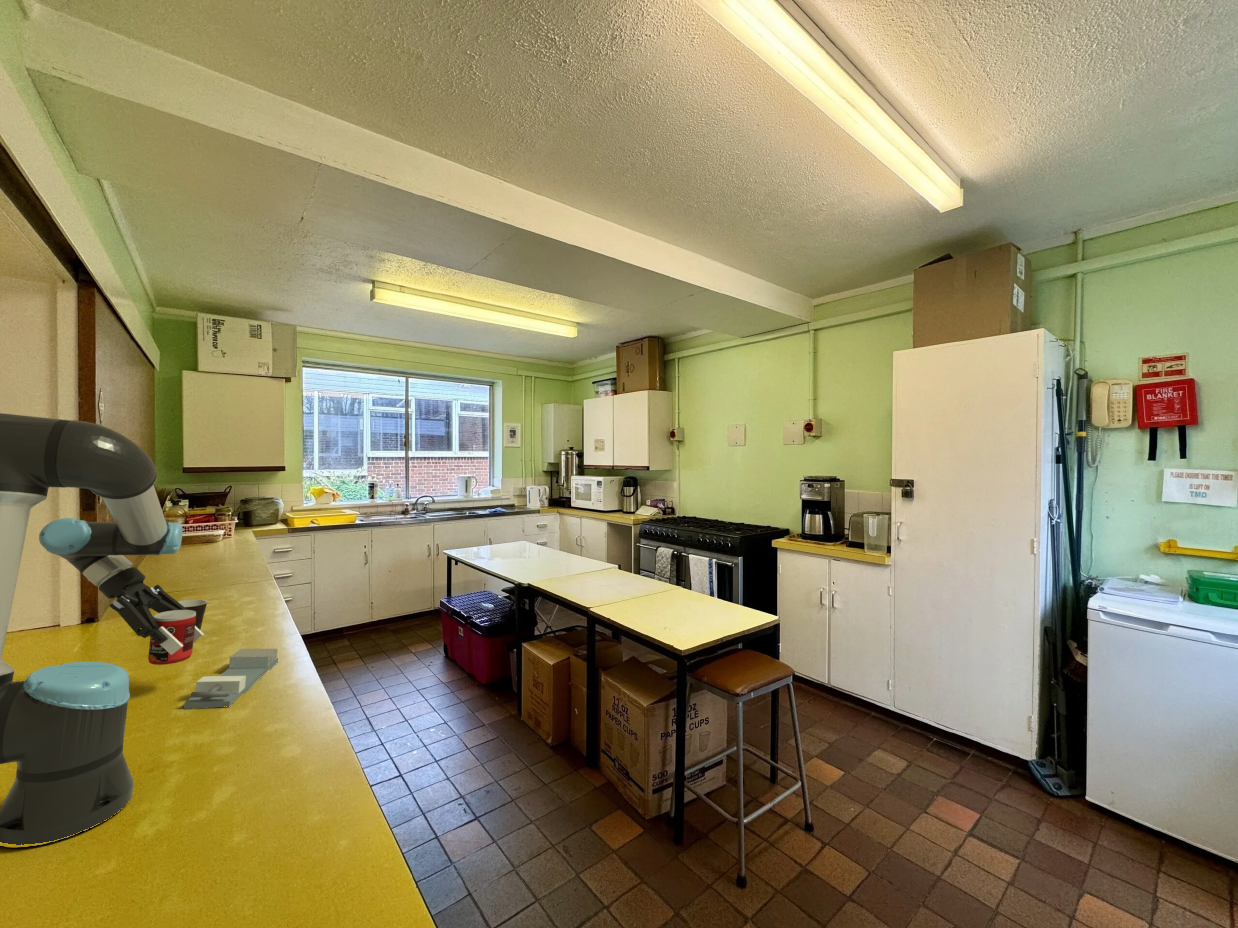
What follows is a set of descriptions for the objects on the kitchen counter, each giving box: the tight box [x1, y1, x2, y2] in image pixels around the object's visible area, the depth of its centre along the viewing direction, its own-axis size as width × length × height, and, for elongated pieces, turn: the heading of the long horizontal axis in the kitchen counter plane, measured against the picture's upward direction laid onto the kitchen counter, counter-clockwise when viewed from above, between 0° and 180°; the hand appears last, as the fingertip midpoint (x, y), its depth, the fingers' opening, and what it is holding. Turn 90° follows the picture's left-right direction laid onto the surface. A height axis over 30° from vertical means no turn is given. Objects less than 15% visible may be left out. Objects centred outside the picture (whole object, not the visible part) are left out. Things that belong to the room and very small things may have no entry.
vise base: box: [183, 657, 279, 710], centre depth 126 cm, size 26×9×4 cm, turn 14°
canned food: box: [147, 610, 196, 666], centre depth 119 cm, size 8×8×11 cm
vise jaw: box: [228, 648, 278, 669], centre depth 135 cm, size 6×9×3 cm, turn 104°
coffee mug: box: [177, 598, 208, 631], centre depth 153 cm, size 12×9×10 cm
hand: (188, 643), depth 120 cm, fingers closed on canned food, 8 cm apart
